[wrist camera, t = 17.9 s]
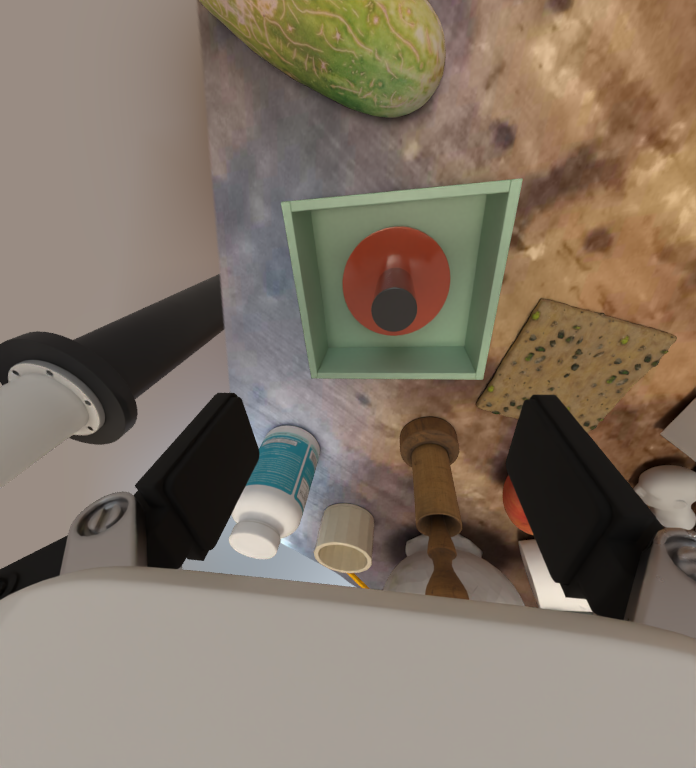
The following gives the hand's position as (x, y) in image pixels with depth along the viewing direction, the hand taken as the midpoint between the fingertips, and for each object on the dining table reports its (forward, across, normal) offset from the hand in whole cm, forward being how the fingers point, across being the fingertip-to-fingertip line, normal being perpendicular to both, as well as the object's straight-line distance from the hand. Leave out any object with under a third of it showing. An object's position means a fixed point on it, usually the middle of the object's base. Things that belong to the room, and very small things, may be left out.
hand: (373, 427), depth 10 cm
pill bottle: (+19, +12, +20) cm, 30 cm away
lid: (+18, -1, 0) cm, 18 cm away
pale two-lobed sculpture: (+19, -30, +23) cm, 42 cm away
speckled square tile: (+19, -17, +9) cm, 27 cm away
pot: (+19, +6, +36) cm, 41 cm away
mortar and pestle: (+19, -5, +18) cm, 27 cm away
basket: (+19, -1, 0) cm, 19 cm away
